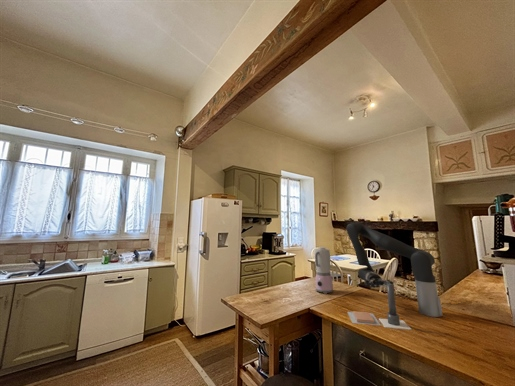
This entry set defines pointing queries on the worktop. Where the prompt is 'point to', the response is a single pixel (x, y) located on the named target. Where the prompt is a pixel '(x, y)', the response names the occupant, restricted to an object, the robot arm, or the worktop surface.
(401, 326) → the board
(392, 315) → the grey pestle
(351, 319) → the mat
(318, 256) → the blender
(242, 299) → the worktop surface
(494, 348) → the worktop surface
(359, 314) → the tile
